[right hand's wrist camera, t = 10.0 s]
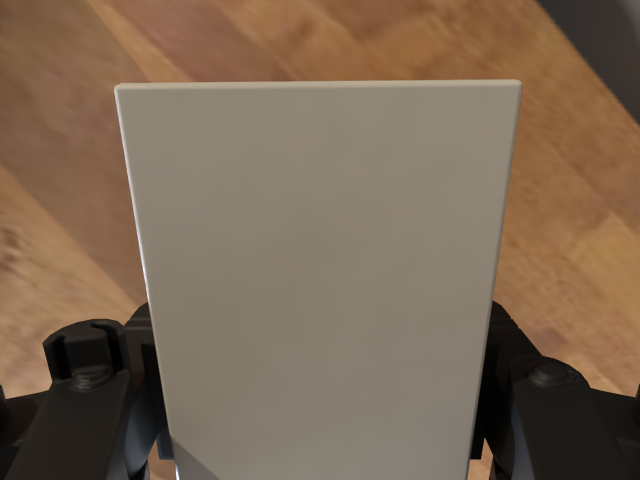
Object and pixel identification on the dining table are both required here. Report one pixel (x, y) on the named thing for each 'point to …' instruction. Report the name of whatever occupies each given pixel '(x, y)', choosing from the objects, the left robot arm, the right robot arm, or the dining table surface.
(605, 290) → the dining table surface
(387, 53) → the dining table surface
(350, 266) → the bar
